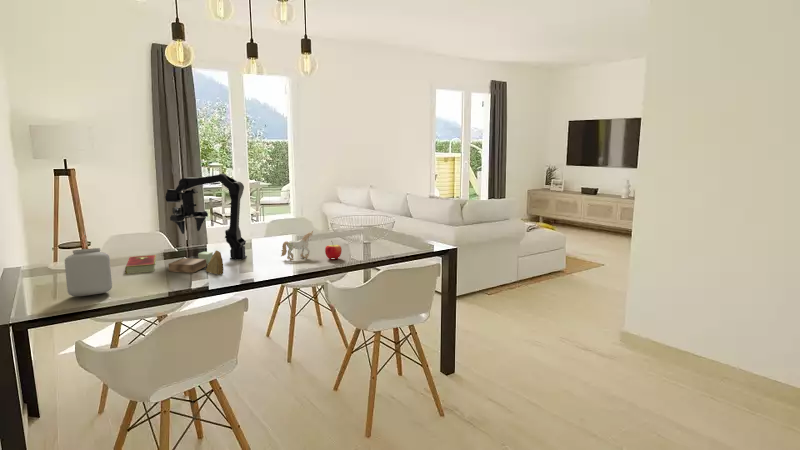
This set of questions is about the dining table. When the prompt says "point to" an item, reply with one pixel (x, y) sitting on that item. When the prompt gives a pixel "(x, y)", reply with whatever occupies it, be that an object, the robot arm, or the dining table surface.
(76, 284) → the jar
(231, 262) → the dining table surface
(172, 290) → the dining table surface
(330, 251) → the apple
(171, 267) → the walnut block
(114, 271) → the dining table surface
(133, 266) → the hardcover book
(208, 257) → the green cube
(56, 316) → the dining table surface
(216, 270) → the brown tan chunky block
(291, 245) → the unicorn figurine
